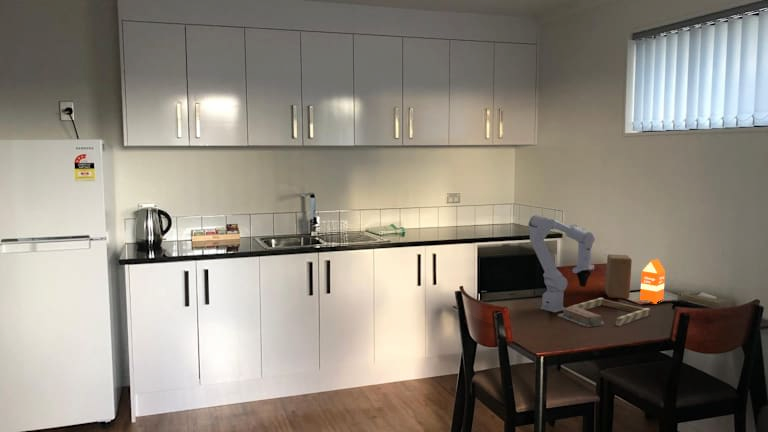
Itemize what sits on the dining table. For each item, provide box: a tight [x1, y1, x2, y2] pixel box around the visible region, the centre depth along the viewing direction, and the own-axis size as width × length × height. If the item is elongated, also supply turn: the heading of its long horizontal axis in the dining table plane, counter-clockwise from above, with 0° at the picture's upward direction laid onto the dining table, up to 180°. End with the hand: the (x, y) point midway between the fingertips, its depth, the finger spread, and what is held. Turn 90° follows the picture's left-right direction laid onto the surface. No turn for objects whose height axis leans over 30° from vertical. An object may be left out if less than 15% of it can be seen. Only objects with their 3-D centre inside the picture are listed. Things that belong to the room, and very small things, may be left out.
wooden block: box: [605, 254, 633, 299], centre depth 307 cm, size 10×10×20 cm
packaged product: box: [557, 305, 605, 328], centre depth 266 cm, size 18×5×10 cm
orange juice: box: [639, 258, 666, 305], centre depth 299 cm, size 8×9×20 cm
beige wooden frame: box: [572, 297, 651, 327], centre depth 276 cm, size 26×24×3 cm
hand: (582, 286), depth 287 cm, fingers closed
